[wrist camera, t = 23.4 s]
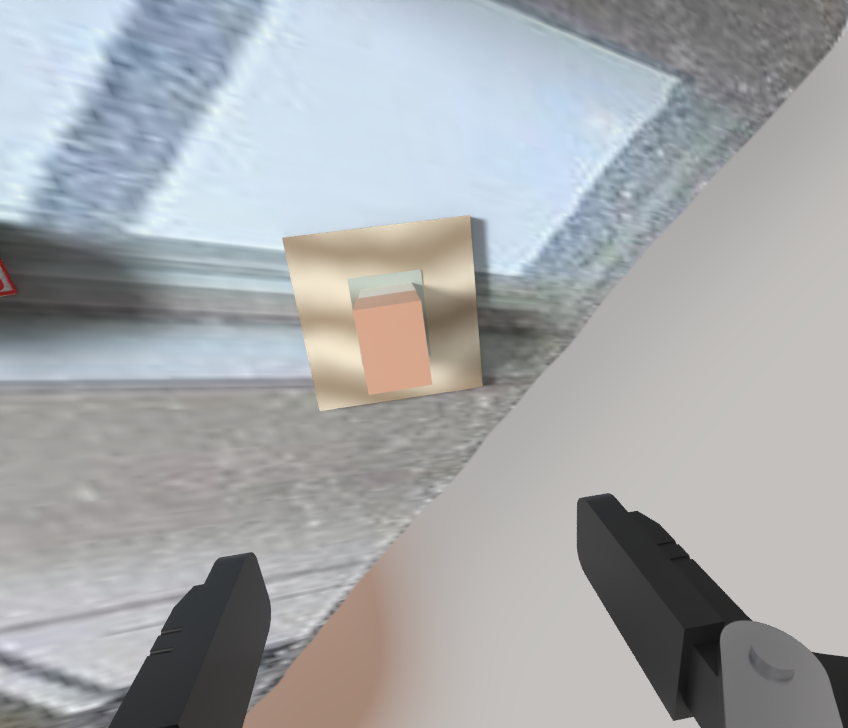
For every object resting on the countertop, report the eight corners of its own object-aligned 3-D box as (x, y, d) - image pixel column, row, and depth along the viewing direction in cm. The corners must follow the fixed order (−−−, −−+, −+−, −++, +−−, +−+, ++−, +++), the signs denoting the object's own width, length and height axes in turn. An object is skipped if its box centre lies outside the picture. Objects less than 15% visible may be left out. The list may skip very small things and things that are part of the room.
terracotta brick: (356, 298, 31) (352, 310, 26) (414, 290, 31) (421, 300, 27) (370, 371, 33) (368, 395, 28) (424, 363, 33) (432, 384, 29)
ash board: (286, 237, 35) (281, 238, 34) (466, 215, 36) (470, 215, 35) (321, 404, 41) (319, 411, 39) (479, 381, 42) (483, 387, 40)
